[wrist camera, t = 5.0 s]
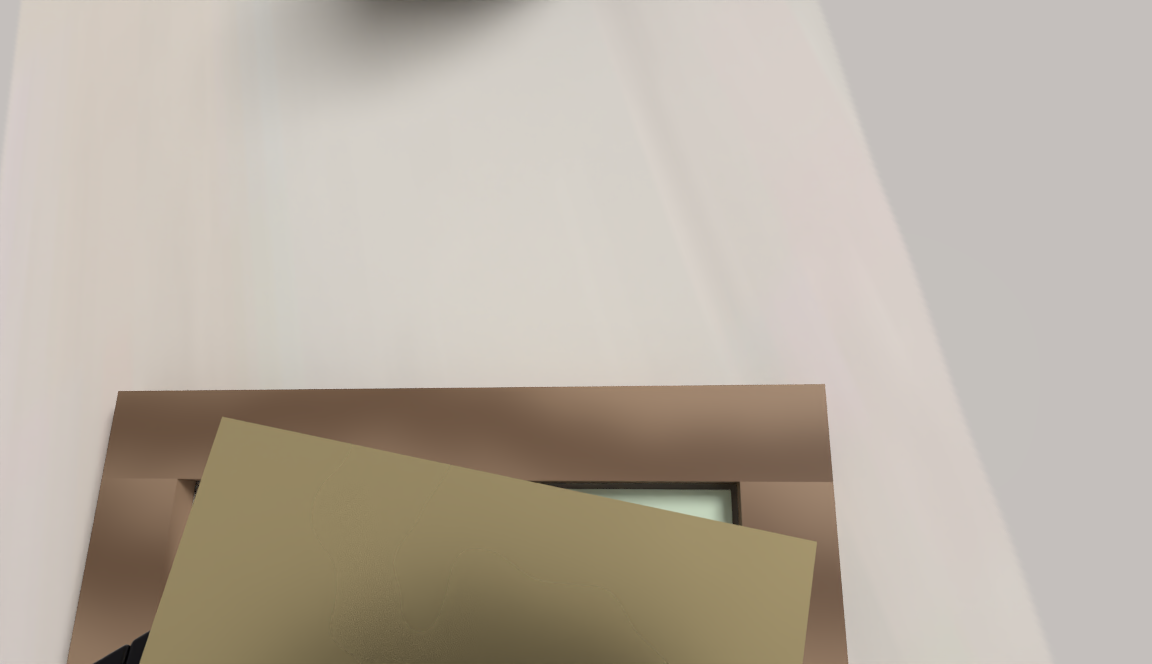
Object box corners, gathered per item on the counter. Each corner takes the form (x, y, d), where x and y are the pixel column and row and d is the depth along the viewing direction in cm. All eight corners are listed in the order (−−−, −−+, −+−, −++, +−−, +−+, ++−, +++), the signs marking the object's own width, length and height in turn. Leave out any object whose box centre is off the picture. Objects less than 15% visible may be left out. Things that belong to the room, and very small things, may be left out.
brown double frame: (855, 852, 20) (865, 868, 19) (64, 804, 22) (37, 816, 21) (817, 390, 23) (824, 384, 22) (138, 396, 26) (118, 391, 25)
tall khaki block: (669, 750, 15) (712, 1424, 4) (470, 698, 16) (-15, 1123, 4) (703, 536, 16) (815, 541, 5) (515, 496, 17) (221, 415, 6)
